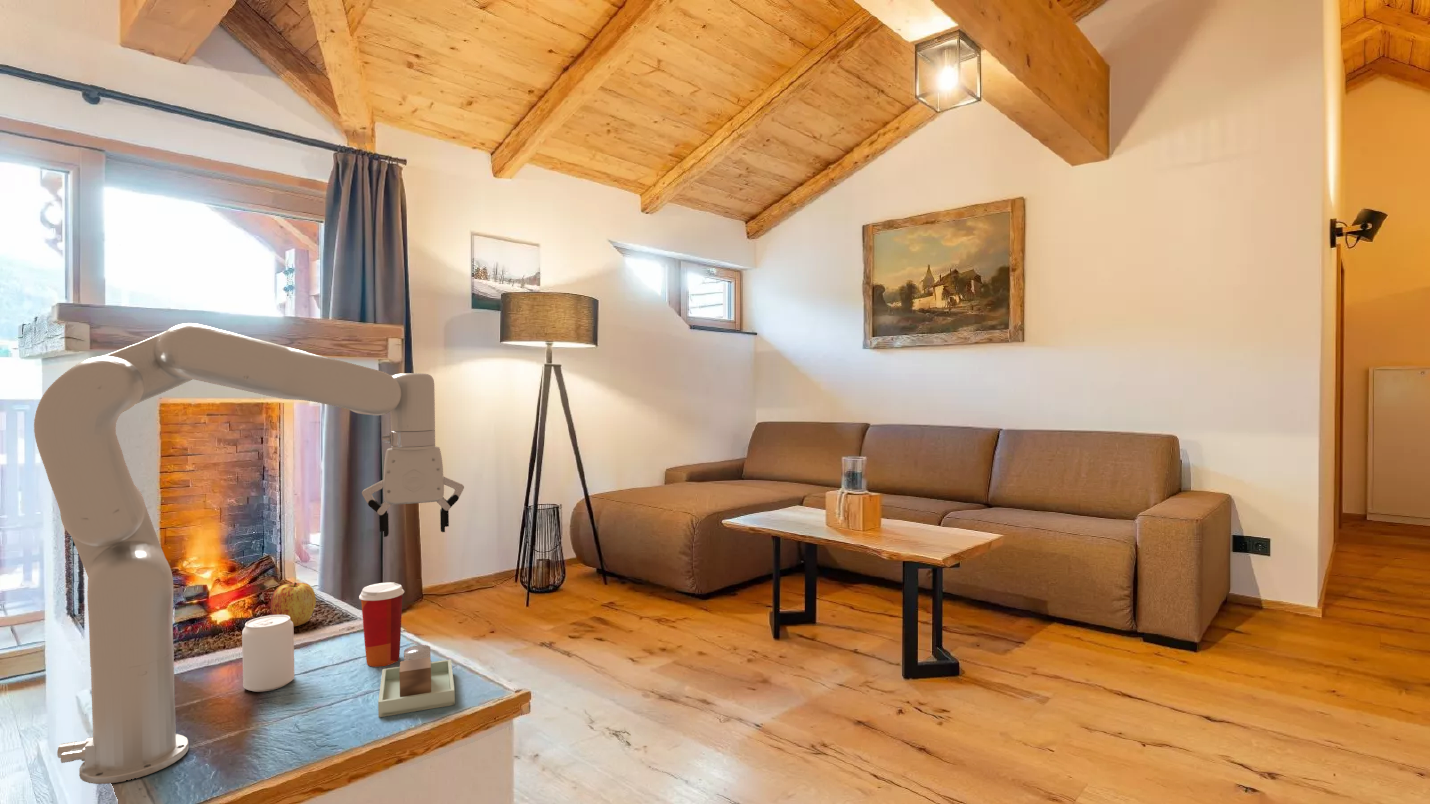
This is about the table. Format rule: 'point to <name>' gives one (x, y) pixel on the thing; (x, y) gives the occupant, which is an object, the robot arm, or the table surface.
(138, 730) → the robot arm
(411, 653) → the metal cylinder
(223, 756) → the table surface
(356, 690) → the table surface
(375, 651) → the coffee cup
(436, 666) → the parts tray
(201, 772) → the table surface
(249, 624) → the beverage can
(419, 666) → the walnut block
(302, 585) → the apple
